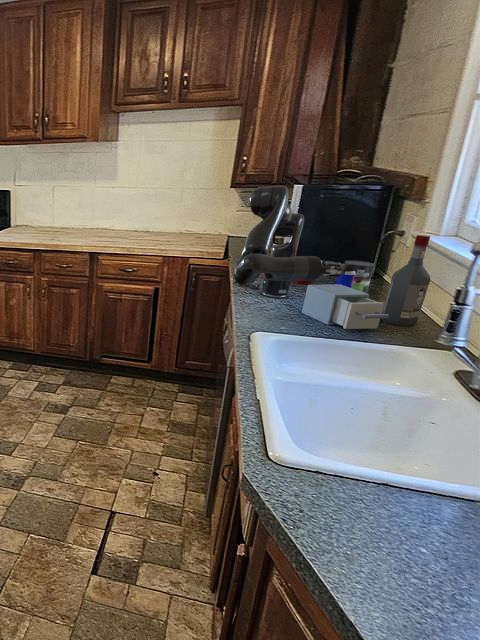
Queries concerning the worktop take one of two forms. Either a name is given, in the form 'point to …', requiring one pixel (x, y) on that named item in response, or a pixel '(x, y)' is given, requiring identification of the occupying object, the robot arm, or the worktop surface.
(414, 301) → the liquor
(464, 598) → the worktop surface
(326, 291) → the cabinet
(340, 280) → the beverage can
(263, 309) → the worktop surface
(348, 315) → the drawer
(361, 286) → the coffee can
